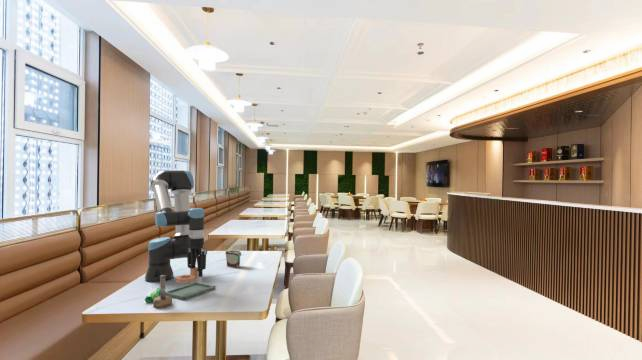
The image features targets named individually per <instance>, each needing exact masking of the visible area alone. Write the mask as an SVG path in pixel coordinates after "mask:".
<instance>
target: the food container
mask: <svg viewBox="0 0 642 360" xmlns="http://www.w3.org/2000/svg"><path fill="white" fill-rule="evenodd" d="M224 253H225V258H226V260H225V261H226V267H228V268H233V269H239V268H240V266H241V264H240V263H241V256H242V252H241V251H240V250H227V251H225V252H224Z"/></svg>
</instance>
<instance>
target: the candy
mask: <svg viewBox="0 0 642 360" xmlns="http://www.w3.org/2000/svg"><path fill="white" fill-rule="evenodd" d="M156 297H160V288H157V289H156V290H154V291H153V292H151V293H150V295H147V296H145V298H144V301H145V303H146V304H148V303H152V302H153V300H154V298H156Z"/></svg>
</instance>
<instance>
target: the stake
mask: <svg viewBox="0 0 642 360" xmlns="http://www.w3.org/2000/svg"><path fill="white" fill-rule="evenodd" d="M165 277H166V275H161V276H160V281H159V283H160V284H159V285H160V286H159V289H160V295H159V296H158V297H156V298H154V300H153V301H152V302H153V303H152V305H153V306H152V307H153V308H155V309H164V308H168V307H171V306H172V305H173V297H171V296H166V295H165V292H166V280H165Z"/></svg>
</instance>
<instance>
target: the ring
mask: <svg viewBox="0 0 642 360" xmlns="http://www.w3.org/2000/svg"><path fill="white" fill-rule="evenodd" d="M195 267H196V268H192V269H190V268H189V269H190V270H189V271H190V274H182V275H178V276H176V278H175V283H178V284H191V283H194V281H195V279H196V280H197V270H198V266H195ZM195 282H196V281H195Z"/></svg>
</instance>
